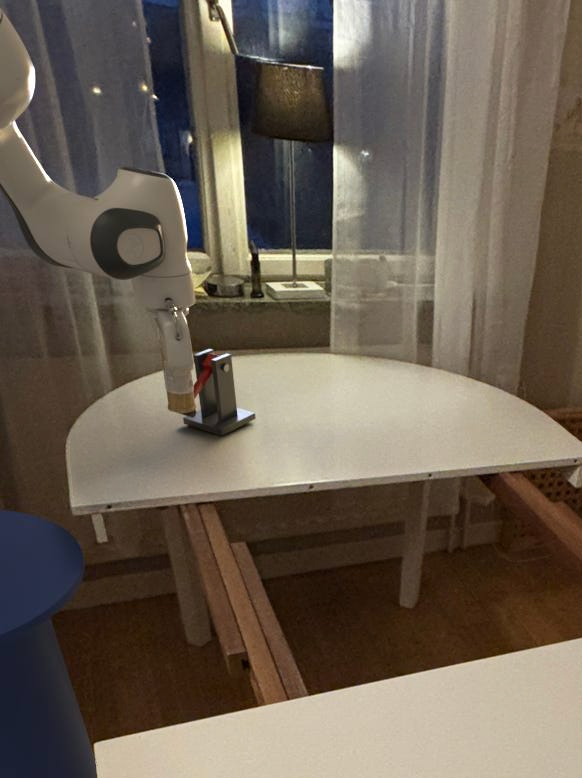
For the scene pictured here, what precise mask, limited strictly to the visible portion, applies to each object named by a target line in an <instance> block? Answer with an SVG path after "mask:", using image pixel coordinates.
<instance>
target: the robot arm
mask: <svg viewBox="0 0 582 778" xmlns="http://www.w3.org/2000/svg"><path fill="white" fill-rule="evenodd" d="M35 69H36V68H35V66H34V64H33V61H32V59H31V56H30V54H29V52H28V50H27V48H26V46H25V43H24V42H23V41H22V38H21V36H20V35H19V33H18V32H17V30H16V28H15V27H14V25H13V24H12V22H11V21H10V19H9V18H8V16H7V15H6V13H5V11H4V10H3V9H2V7H0V192H1V193H2V194H3V195H4V197H5V199H6V200H7V202H8V203H9V205H10V207H11V209H12V211H13V213H14V215H15V218H16V220H17V223H18V226H19V228H20V230H21V233H22V235H23V238H24V239H25V242H26V243H27V245H28V246H29V248H30V249H31V250H32V252H33V253H34V254H35V255H36V256H37V257H38V258H40V259H41V260H42V261H44V262H45V263H47V264H49V265H52V266H54V267H55V266H56V267H60V268H68V269H75V270H78V271H81V272H84V273H87V274H91V275H96V276H100V277H104V278H107V279H111V280H117V281H126V280H128V281H129V280H131V285H132V286H131V287H132V290H133V292H132V293H133V297H134V302H135V303H136V304H137V305H138V306H140V307H143V308H144V310H145V314H146V315H147V316H148V318H149V321H150V324H151V327H152V330H153V332H154V334H155V337H156V339H157V342H158V344H159V345H160V344H161V347H160V349H161V348H162V351H163V353H164V356H165V358H166V361H167V363H168V365H169V368H170V370H171V371H172V372H173V379H174V384H175V386H176V387H186V385H187V383H186V371H189V370H192V371H193V370H195V363H194V356H193V355H194V353H193V347H192V341H191V335H190V329H189V325H188V320H187V318H186V317H187V316H188V315H189V314H190V309H189V308H191V307H192V306H194V305H195V304H196V302H197V299H196V292H195V284H194V276H193V269H192V264H191V262H190V259H189V256H188V252H187V250H188V249H187V248H188V240H189V239H188V231H187V223H186V217H185V216H186V215H185V212H184V211H185V210H184V206H183V201H182V198H181V194H180V191H179V188H178V186H177V184H176V182H175V181H174V180H173V178H172V177H170V176H169V175H167V174H166V173H163V172H158V171H155V170H150V169H145V168H140V167H137V166H136V167H135V166H122V167H119V168H117V173H116V177H115V178H114V179H113V182H112V183H111V184H110V185H109V186H108V187H107V188H106V189H105V190H104V191H103V192H101V193H100V194H97V195H95V196H94V197H90V196H86V195H82V194H78V193H75V192H72V191H70V190H68V189H66V188H64V187H63V186H61V185H59V184H58V183H56V182H55V181H54V180H52V179H51V178H50V176H49V175H48V174H47V172H46V171H45V169H44V168H43V166H42V165H41V163H40V162H39V160H38V158H37V156H36V155H35V154H34V152H33V150H32V149H31V147H30V145H29V144H28V142H27V140H26V139H25V137H24V136H23V134H22V132H21V131H20V129H19V128H18V125H17V122H16V120H17V119H18V118H19V117H20V116H21V115H22V114H23V113H24V112H25V111H26V110H27V109H28V107H29V105H30V104H31V101H32V99H33V96H34V94H35V89H36V70H35ZM157 327H158V329H159V335H160V342H159V339H158V334H157ZM176 339H177V340H179V339H180V340H179V341H177V340H176Z"/></svg>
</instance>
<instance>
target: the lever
mask: <svg viewBox="0 0 582 778" xmlns="http://www.w3.org/2000/svg"><path fill="white" fill-rule="evenodd" d="M219 356H220V355H218V354H215V353H214V354H212V353H209V355H208V356H207V358H206V359H205V360H204V362H203V363H202V365H203V366H204V368H205V370H204V371H203V373H202V374H201V375H200V377H199V378H198V380H197V379H196V381H195V382H194V383H193V386H194V399H196V398H197V396H199V392H200V391H201V389H202V388H203V386H204V385H205V383H206V382H207V381H208V379H209V378H210V376H211V375H212V374H213V372H212V364H211V359H214V358H217V357H219ZM167 409H168V411H170V412H172V413H174V412H173V411H171V410H169V408H168V407H167ZM196 412H197V410H196V409H195V410H194V411H192V412H188V413H177V412H175V413H176V414H179V415H182V416H184V417H186V416H188V417H192V418H193V417H195V415H196Z"/></svg>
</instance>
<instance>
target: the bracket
mask: <svg viewBox="0 0 582 778" xmlns="http://www.w3.org/2000/svg"><path fill="white" fill-rule="evenodd" d="M209 353H212V354H215V351H214V349H212V348H208V349H204V350H203V351H200V352H197V353H193V359H194V370H195V377H196V381H197V380H198V378H199V377H200V375H201V374H202V373H203V371H204V370H205V368H204V366H203V365H202V363H203V362H204V360H205V359H206V358H207V356H208V355H209ZM211 364H212V372H213V374H212V375H211V376H210V378H209V379H208V381H207V382H206V383H205V385H204V386H203V388H202V389H201V391H200V392H199V393H198V399H199V408H200V410H196V415H195V417H193V418H192V417H188V416H184V417H182V421H183V424H184V425H186V426H190V427H193V428H197V429H200V430H203V431H206V432H209V433H212V434H215V435H219V436H225V435H226V434H229V433H230V432H232V431H234V430H236V429H238V428H240V427H242V426H244V425H247V424H248V423H250V422H252V421H254V420H256V419H257V418H256V413H255V412H253V411H249V410H246V409H243V408H241V407H238V405H237V398H236V387H235V378H234V369H233V359H232V354H231V353H225V354H224V353H223V354H222V355H219V357H217V358H214V359H211Z"/></svg>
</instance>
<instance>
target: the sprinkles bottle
mask: <svg viewBox="0 0 582 778" xmlns="http://www.w3.org/2000/svg"><path fill="white" fill-rule="evenodd" d="M157 334H158V339H159V342H160V335H159V329H158V327H157ZM158 339H157V340H158ZM176 340H177V339H176ZM179 340H180V339H179ZM179 340H177V341H179ZM159 342H158V343H159ZM159 346H160V354H161V362H162V369H163V379H164V387H165V390H166V397H167V409H168V408H169V410H171V411H170V412H172V411H173V412H172V413H176V412H177V413H176V414H179V413H188V412H192V411H194V410H196V409H197V404H196V401H195V399H196V398H195V399H194V386H193V385H194V380H193V379H194V378H193V370H189V371H186V383H187V385H186V387H176V386H175V384H174V379H173V372H172V371H171V370H170V368H169V365H168V363H167V361H166V358H165V356H164V353H163V351H162V348H161V344H159ZM169 410H168V411H169Z"/></svg>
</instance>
